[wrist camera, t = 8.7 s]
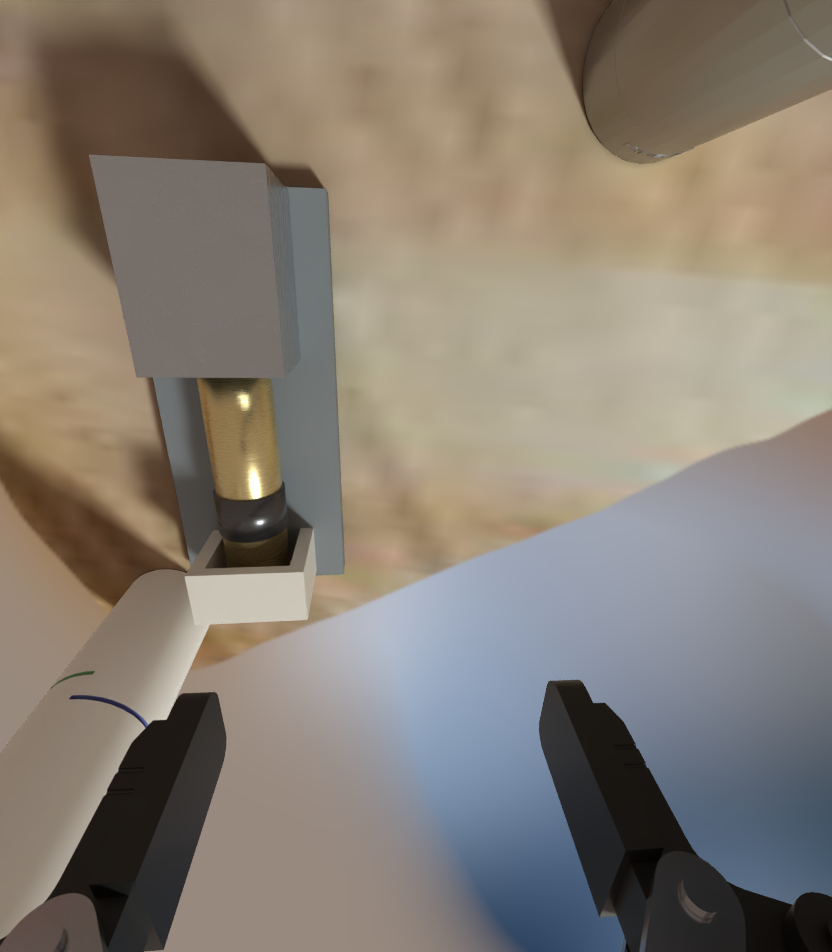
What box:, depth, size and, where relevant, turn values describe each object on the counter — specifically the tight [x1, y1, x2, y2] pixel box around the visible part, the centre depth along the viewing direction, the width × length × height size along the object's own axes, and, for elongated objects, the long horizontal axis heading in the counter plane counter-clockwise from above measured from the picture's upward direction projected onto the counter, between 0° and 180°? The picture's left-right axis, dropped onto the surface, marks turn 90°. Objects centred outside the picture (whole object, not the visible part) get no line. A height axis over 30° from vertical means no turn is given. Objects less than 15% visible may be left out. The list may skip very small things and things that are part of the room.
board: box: [153, 187, 345, 575], centre depth 32 cm, size 28×12×2 cm, turn 178°
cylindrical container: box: [0, 569, 210, 939], centre depth 27 cm, size 7×7×25 cm
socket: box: [184, 528, 317, 625], centre depth 33 cm, size 4×8×6 cm, turn 89°
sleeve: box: [89, 155, 301, 378], centre depth 25 cm, size 10×8×7 cm
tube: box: [197, 378, 290, 568], centre depth 30 cm, size 18×5×5 cm, turn 178°
